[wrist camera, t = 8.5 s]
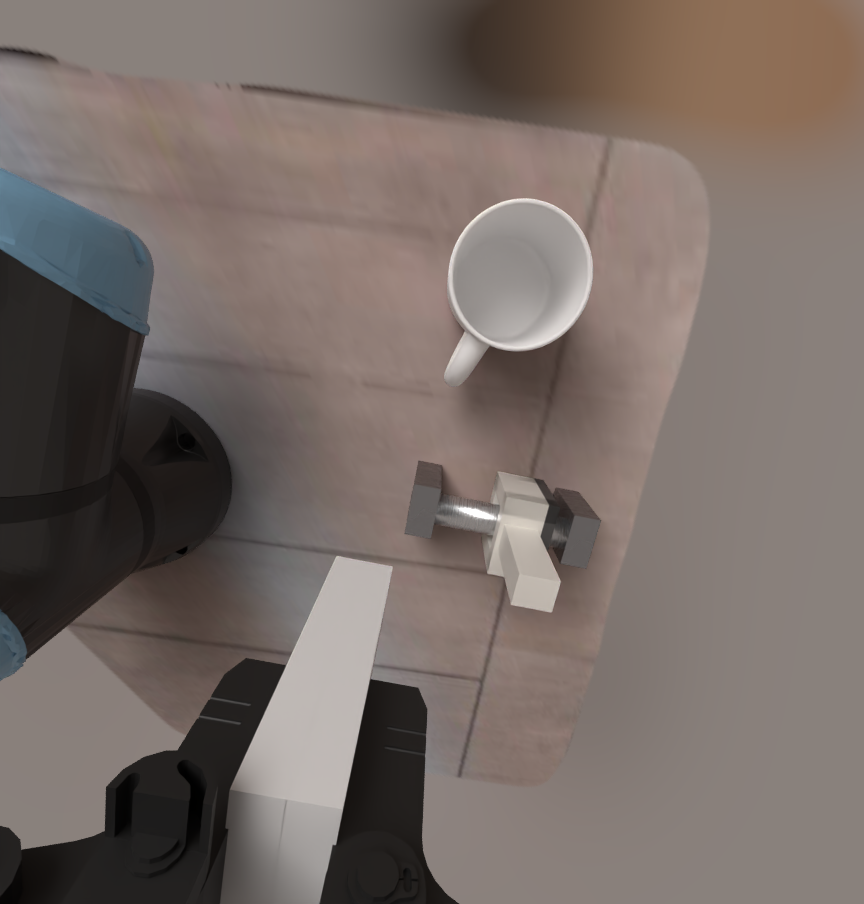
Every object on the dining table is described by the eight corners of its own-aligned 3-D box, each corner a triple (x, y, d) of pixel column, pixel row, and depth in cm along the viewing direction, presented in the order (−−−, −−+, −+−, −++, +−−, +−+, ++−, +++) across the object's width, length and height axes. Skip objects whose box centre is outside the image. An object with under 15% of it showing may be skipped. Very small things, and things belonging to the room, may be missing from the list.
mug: (489, 402, 40) (504, 429, 30) (402, 348, 39) (388, 358, 29) (575, 270, 37) (623, 251, 27) (484, 209, 36) (500, 166, 26)
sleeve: (481, 538, 41) (498, 633, 28) (497, 471, 39) (522, 541, 27) (525, 546, 41) (561, 645, 28) (543, 480, 40) (589, 554, 27)
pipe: (409, 503, 42) (404, 534, 36) (418, 460, 41) (414, 484, 35) (566, 534, 43) (586, 569, 37) (578, 492, 42) (601, 521, 36)
